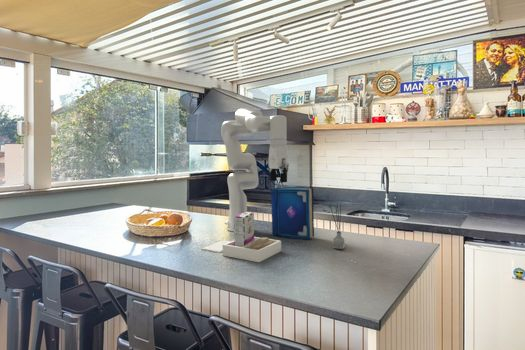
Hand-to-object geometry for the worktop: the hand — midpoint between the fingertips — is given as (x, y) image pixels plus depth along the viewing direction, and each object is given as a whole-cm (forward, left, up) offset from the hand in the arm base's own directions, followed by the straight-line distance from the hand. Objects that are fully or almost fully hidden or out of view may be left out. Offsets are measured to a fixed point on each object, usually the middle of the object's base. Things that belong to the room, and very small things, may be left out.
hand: (278, 181), depth 161 cm
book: (-3, +19, -30) cm, 35 cm away
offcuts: (0, -15, -30) cm, 34 cm away
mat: (-22, -14, -30) cm, 39 cm away
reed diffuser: (+24, +10, -30) cm, 40 cm away
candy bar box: (-8, -15, -30) cm, 35 cm away
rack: (-4, -15, -30) cm, 34 cm away
